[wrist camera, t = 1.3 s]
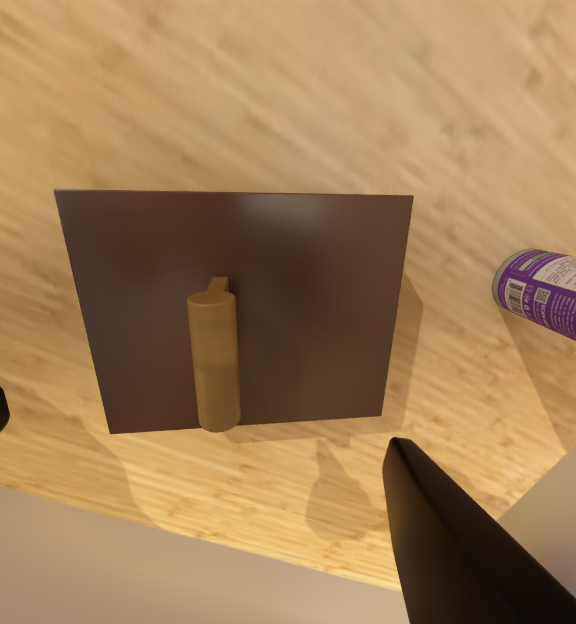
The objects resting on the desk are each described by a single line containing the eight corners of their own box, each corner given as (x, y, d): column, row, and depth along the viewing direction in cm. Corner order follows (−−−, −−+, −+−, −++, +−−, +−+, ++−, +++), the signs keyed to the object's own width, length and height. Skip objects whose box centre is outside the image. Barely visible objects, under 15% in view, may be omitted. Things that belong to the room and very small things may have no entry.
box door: (115, 423, 17) (63, 513, 12) (64, 189, 12) (-46, 186, 8) (376, 407, 18) (419, 480, 14) (405, 195, 14) (482, 196, 9)
